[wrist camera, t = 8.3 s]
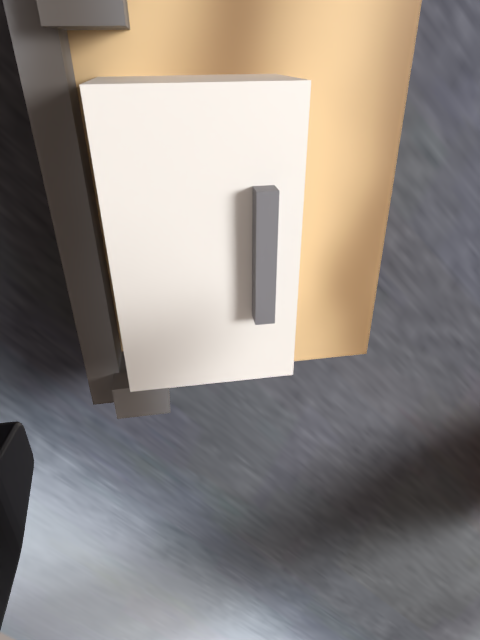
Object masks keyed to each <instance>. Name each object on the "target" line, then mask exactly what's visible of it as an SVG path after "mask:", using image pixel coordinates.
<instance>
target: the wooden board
mask: <svg viewBox="0 0 480 640" xmlns="http://www.w3.org/2000/svg"><path fill="white" fill-rule="evenodd" d="M421 2H422V0H3V4H4V9H5V13H6V17H7V22H8V26H9V31H10V35H11V40H12V44H13V49H14V53H15V58H16V62H17V66H18V71H19V75H20V80H21V84H22V89H23V93H24V98H25V102H26V107H27V111H28V115H29V120H30V124H31V129H32V133H33V138H34V142H35V147H36V151H37V156H38V160H39V164H40V169H41V173H42V178H43V182H44V187H45V191H46V196H47V200H48V205H49V209H50V213H51V218H52V222H53V227H54V231H55V236H56V240H57V245H58V249H59V253H60V258H61V262H62V267H63V271H64V276H65V280H66V285H67V289H68V294H69V298H70V302H71V307H72V311H73V316H74V320H75V325H76V329H77V334H78V338H79V343H80V347H81V351H82V356H83V360H84V365H85V369H86V374H87V378H88V383H89V387H90V392H91V396H92V400H93V405H94V404H103V403H112V402H114V404H115V409H116V414H117V419H120V418H129V417H138V416H147V415H155V414H164V413H170V393H169V388H162V389H153V390H143V391H134V392H130V387H129V381H128V375H127V369H126V363H125V357H124V351H123V345H122V339H121V333H120V327H119V321H118V315H117V309H116V303H115V297H114V291H113V285H112V279H111V272H110V266H109V260H108V254H107V248H106V242H105V236H104V230H103V224H102V218H101V212H100V206H99V200H98V194H97V188H96V182H95V176H94V170H93V164H92V158H91V152H90V146H89V140H88V134H87V128H86V122H85V116H84V110H83V104H82V98H81V92H80V86H79V84H82V83H84V82H87V81H89V80H91V79H94V78H96V77H107V76H167V75H227V74H279V75H285V76H291V77H296V78H302V79H307V80H311V93H310V109H309V125H308V141H307V157H306V173H305V189H304V205H303V221H302V237H301V253H300V269H299V285H298V301H297V317H296V333H295V350H294V361H300V360H310V359H319V358H329V357H339V356H348V355H358V354H366V353H367V347H368V340H369V334H370V328H371V321H372V315H373V308H374V302H375V296H376V289H377V283H378V276H379V270H380V264H381V257H382V251H383V245H384V238H385V232H386V225H387V219H388V213H389V206H390V200H391V194H392V187H393V181H394V174H395V168H396V162H397V155H398V149H399V143H400V136H401V130H402V123H403V117H404V111H405V104H406V98H407V91H408V85H409V79H410V72H411V66H412V60H413V53H414V47H415V40H416V34H417V28H418V21H419V15H420V9H421Z"/></svg>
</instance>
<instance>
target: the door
mask: <svg viewBox="0 0 480 640" xmlns="http://www.w3.org/2000/svg"><path fill="white" fill-rule="evenodd" d="M79 86H80V92H81V98H82V104H83V110H84V116H85V122H86V128H87V134H88V140H89V146H90V152H91V158H92V164H93V170H94V176H95V182H96V188H97V194H98V200H99V206H100V212H101V218H102V224H103V230H104V236H105V242H106V248H107V254H108V260H109V266H110V272H111V279H112V285H113V291H114V297H115V303H116V309H117V315H118V321H119V327H120V333H121V339H122V345H123V351H124V357H125V363H126V369H127V375H128V381H129V387H130V392H134V391H143V390H153V389H162V388H172V387H181V386H191V385H200V384H210V383H219V382H229V381H238V380H247V379H257V378H266V377H276V376H285V375H293V366H294V350H295V333H296V317H297V301H298V285H299V269H300V253H301V237H302V221H303V205H304V189H305V173H306V157H307V141H308V125H309V109H310V93H311V80H307V79H302V78H296V77H291V76H285V75H279V74H227V75H167V76H107V77H96V78H94V79H91V80H89V81H87V82H84V83H82V84H79Z"/></svg>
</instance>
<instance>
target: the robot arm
mask: <svg viewBox="0 0 480 640" xmlns="http://www.w3.org/2000/svg"><path fill="white" fill-rule="evenodd" d="M33 468H34V458H33V453H32V450H31V447H30V444H29V441H28V438H27V435H26V432H25V429H24V426H23V425H22V424H21V423H20V422H7V423H0V630H1V626H2V622H3V619H4V615H5V611H6V607H7V604H8V600H9V596H10V592H11V588H12V585H13V581H14V577H15V573H16V570H17V566H18V562H19V557H20V553H21V548H22V543H23V537H24V530H25V523H26V516H27V509H28V503H29V496H30V489H31V482H32V475H33Z"/></svg>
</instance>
